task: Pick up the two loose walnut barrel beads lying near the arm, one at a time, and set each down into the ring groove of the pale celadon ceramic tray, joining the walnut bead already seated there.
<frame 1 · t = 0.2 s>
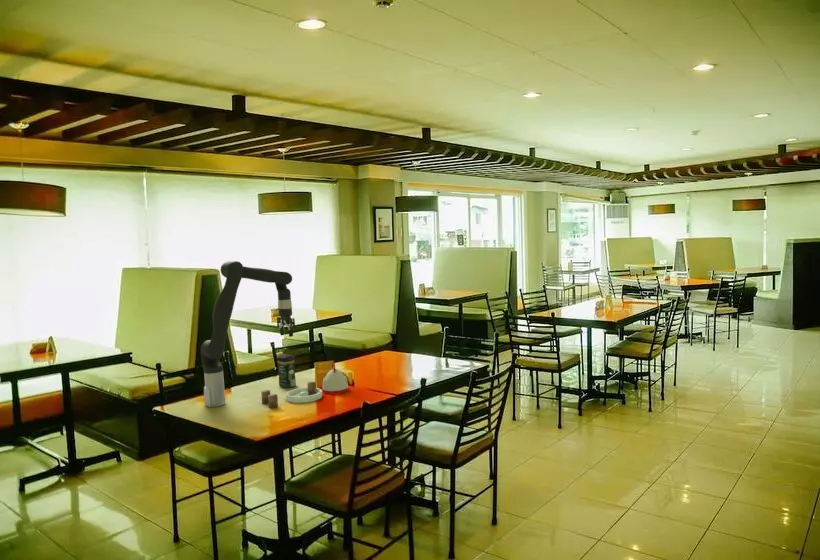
hand: (286, 335, 320), 29 cm above the table, fingers open, 8 cm apart
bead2: (273, 407, 282), on the table
tray: (304, 397, 296), on the table
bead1: (266, 402, 291), on the table
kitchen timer: (335, 390, 308), on the table
coffee jar: (287, 386, 322), on the table
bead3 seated: (312, 393, 300), point 1 cm above the table, touching tray
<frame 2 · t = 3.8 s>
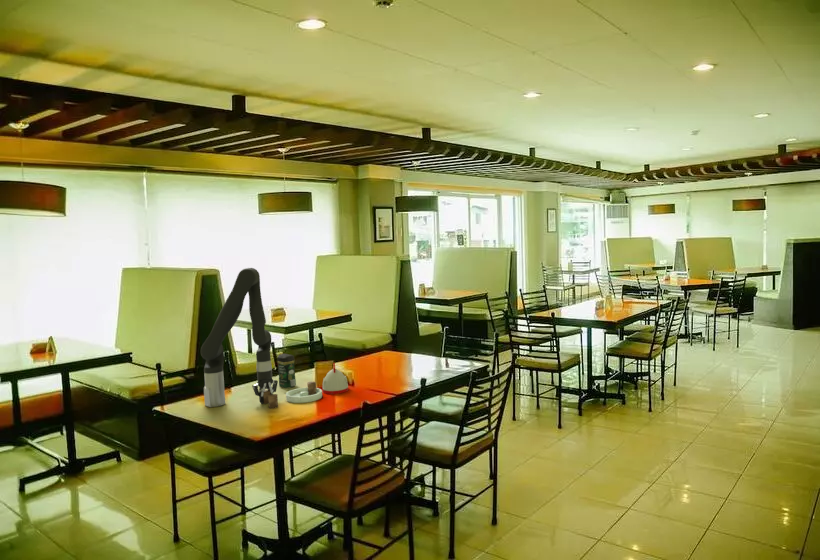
hand: (266, 401, 290), 0 cm above the table, fingers closed on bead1, 4 cm apart
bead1: (266, 402, 290), on the table, touching gripper
everything else where it was.
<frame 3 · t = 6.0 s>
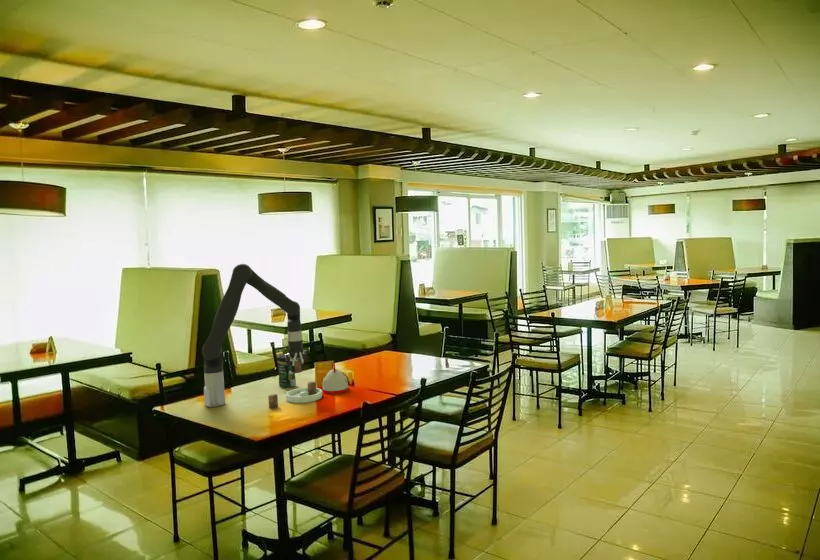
hand: (297, 371, 299), 13 cm above the table, fingers closed on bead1, 4 cm apart
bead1: (297, 371, 299), point 13 cm above the table, touching gripper
everything else where it was.
when the fingers open (3 cm above the table, at t = 8.3 s): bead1 drops 1 cm, resting on tray.
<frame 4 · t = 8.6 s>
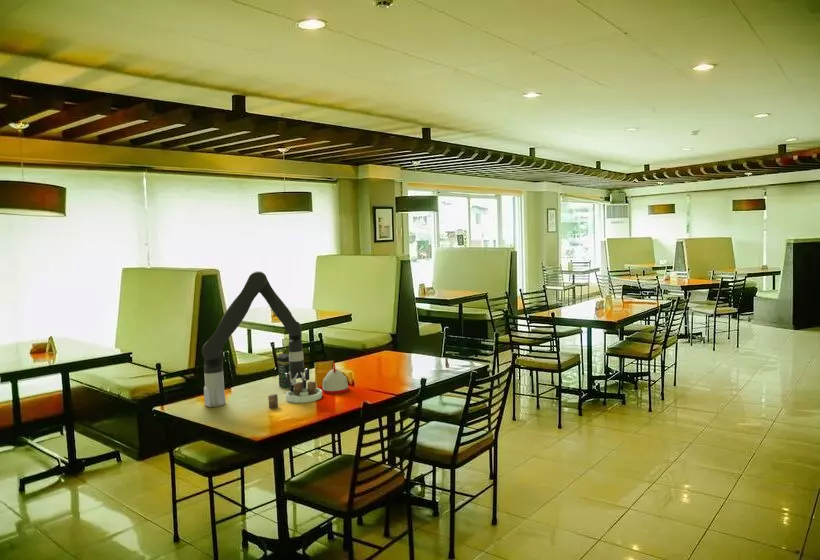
hand: (298, 390, 299), 3 cm above the table, fingers open, 7 cm apart
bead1: (298, 394, 300), point 1 cm above the table, touching tray
everything else where it was.
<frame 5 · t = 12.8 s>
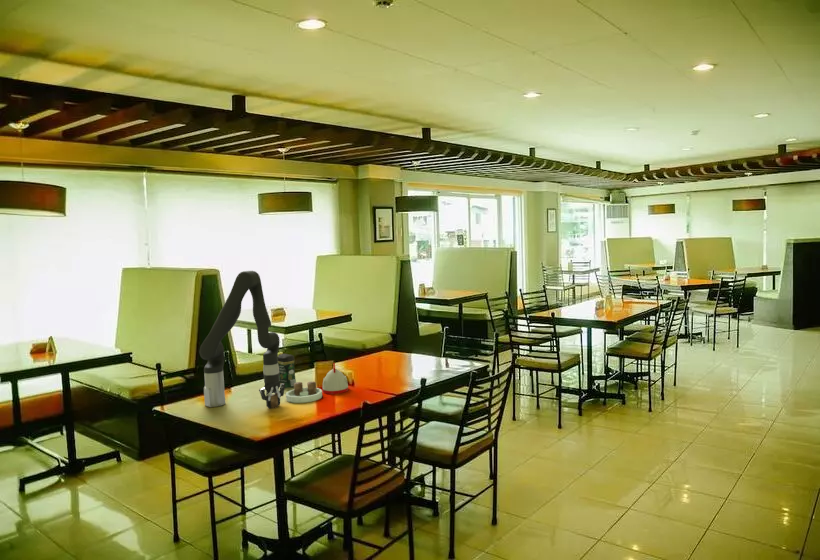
hand: (273, 406, 282), 0 cm above the table, fingers closed on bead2, 4 cm apart
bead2: (273, 407, 282), on the table, touching gripper
everything else where it was.
when the fingers open (3 cm above the table, at t = 17.2 s): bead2 drops 1 cm, resting on tray.
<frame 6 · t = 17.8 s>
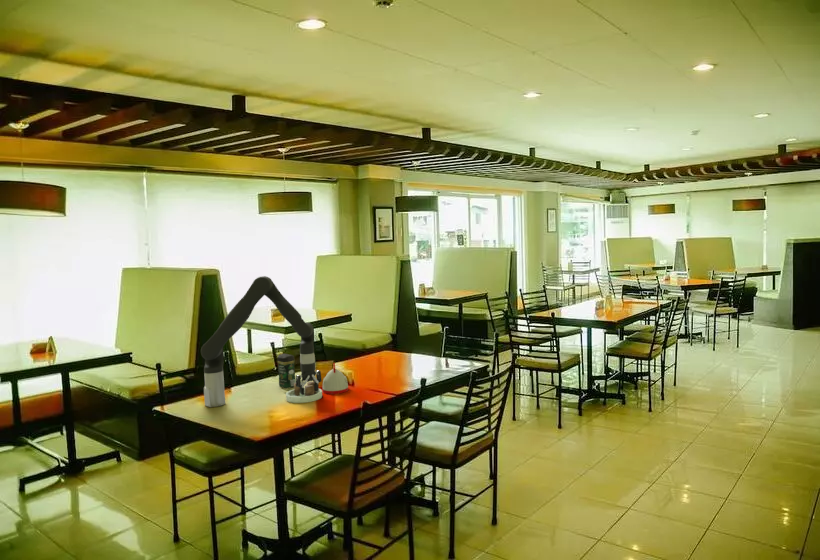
hand: (309, 392, 292), 4 cm above the table, fingers open, 8 cm apart
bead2: (309, 397, 292), point 1 cm above the table, touching tray
everything else where it was.
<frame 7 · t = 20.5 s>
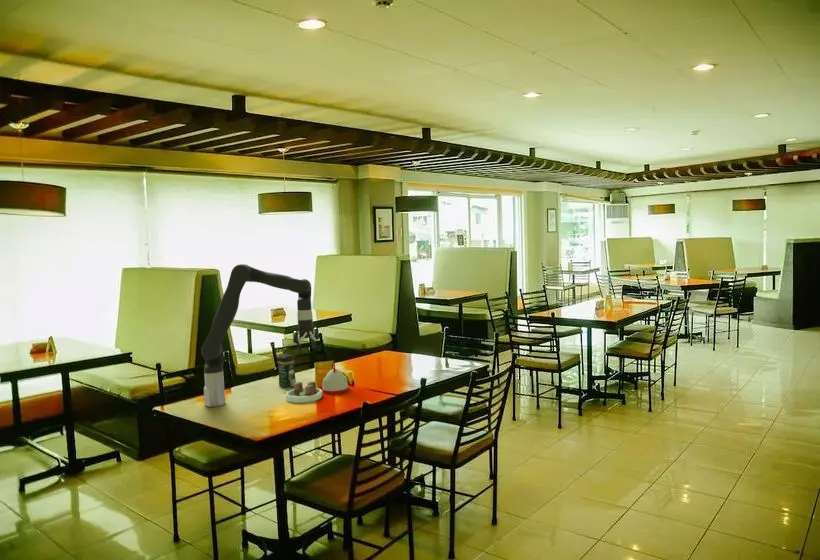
hand: (306, 349, 291), 26 cm above the table, fingers open, 8 cm apart
nothing on the table moved.
at the end: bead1 0.1 cm from the target spot on the tray, point 1.0 cm above the tray's base; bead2 0.1 cm from the target spot on the tray, point 1.0 cm above the tray's base; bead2 tilted 0° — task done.
